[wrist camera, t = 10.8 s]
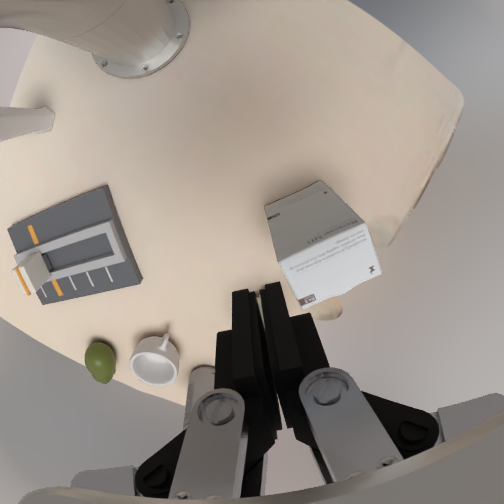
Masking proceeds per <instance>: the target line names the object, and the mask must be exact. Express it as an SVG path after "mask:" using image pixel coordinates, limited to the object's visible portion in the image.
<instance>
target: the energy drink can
mask: <svg viewBox="0 0 504 504" xmlns="http://www.w3.org/2000/svg"><path fill="white" fill-rule="evenodd" d="M214 377H215V368H213V367H209V366H202V367H199V368H197V369H195V370H194V371H193V372H192V373H191V374H190V377H189V384H188V392H187V400H186V408H185V417H184V425H183V431H184V430H185V429H186V428H187V427H188V423H189V419H190V416H191V412H192V408H193V406H194V404H195V402H196V401H197V400H198V399H199V398H200V397H201V396H202V395H204V394H205V393H207V392H209V391H212V390H214Z"/></svg>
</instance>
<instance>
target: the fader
mask: <svg viewBox="0 0 504 504" xmlns="http://www.w3.org/2000/svg"><path fill="white" fill-rule="evenodd" d="M51 269H52V266H51V264H50V262H49V260H48V258H47V255H46V254H43V255H41V253H40V252H39V253H36V254H33V255H30V256H28V257H26V258H25V259H24V260H23V261H22V262H21V263H19V264H18V265H17V266H16V267H15V268H14V269H13V270H11V271H12V273H13V275H14V277H15V279H16V281H17V283H18V285H19V287H20V289H21V291H22V293H23V295H30V294H31V293H35V292H37V291H38V290H39V289H40V288H41V286H42V285H43V284H44V283H45V282H46V281H47V280H48V279H49V278H50V277H51V275H50V273H49V271H50V270H51Z"/></svg>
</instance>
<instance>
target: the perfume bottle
mask: <svg viewBox="0 0 504 504" xmlns="http://www.w3.org/2000/svg"><path fill="white" fill-rule="evenodd" d="M54 117H55V113H54V112H53V111H52V110H50V109H48V108H47V107H45V106H44V107H42V108H40V109H29V108H13V107H0V142H1V141H4V140H8V139H11V138H14V137H18V136H21V135H25V134H29V133H32V132H36V133H44V132H48V131H51V130H52V126H53V121H54Z"/></svg>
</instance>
